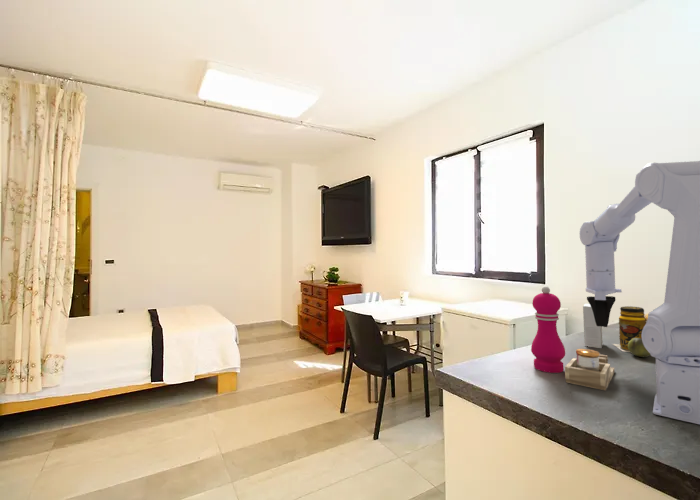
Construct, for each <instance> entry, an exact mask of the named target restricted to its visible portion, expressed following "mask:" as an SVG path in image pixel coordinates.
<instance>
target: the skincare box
mask: <svg viewBox="0 0 700 500" xmlns="http://www.w3.org/2000/svg"><path fill="white" fill-rule="evenodd" d="M582 314H583V338H584V339H583V341H584V346H585V347H587V346H588V348H596V349H602V347H603V344H604V343H603V342H604V341H603V327H601V326H597V325H596V322H595V318H594V314H593V310H592V308H591V305H590V304H589V303H584V304H583V306H582Z"/></svg>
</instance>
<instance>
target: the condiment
mask: <svg viewBox="0 0 700 500" xmlns="http://www.w3.org/2000/svg"><path fill="white" fill-rule="evenodd" d="M619 309H620V312H619V314H620V316H619V317H618V325H619V326H618V327H619V330H618V331H619V332H618V334H619V335H618V337H619V343H618V344H617V343H612V345H613V346H615V347H616V348H617V349H618V350H620V351H622V352H625V353H631V352H630V351H629V349H628V343H629V341H630V340H632V339H633V338H641V339H642V330H643V328H644V326H645V325H646V323H647V320H648V319H647V318H646V317H645V309H644V308H643V307H639V306H631V305H630V306H629V305H628V306H620V308H619Z"/></svg>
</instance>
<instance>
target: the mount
mask: <svg viewBox="0 0 700 500" xmlns="http://www.w3.org/2000/svg"><path fill="white" fill-rule="evenodd" d="M615 373H616V372H615V367H611V363H609V360H608V355H605V354H601V353H599V371H593V370H587V369H582V368H577V357H576V358H574V357H573V358H572V359H570V361H569V362H568V363H567V364H565V366H564V378H565V383H568V384H572V385H577V386H580V387H581V386H582V387H587V388H590V389H591V388H592V389H597V390H601V391H607V389H608V387H609V385H610V384H611V381H612V378H613V376H614V374H615Z"/></svg>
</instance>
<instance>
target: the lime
mask: <svg viewBox="0 0 700 500" xmlns="http://www.w3.org/2000/svg"><path fill="white" fill-rule="evenodd" d="M628 349H629V351H630V352H629V353H631V354H632V355H634V356H636V357H640V358H647V357H649V356H651V354H650V353H649V352H648V351H647V350H646V348H645V347H644V345H643V342H642V339H641V338H633V339H632V340H630V341H629V343H628Z"/></svg>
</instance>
